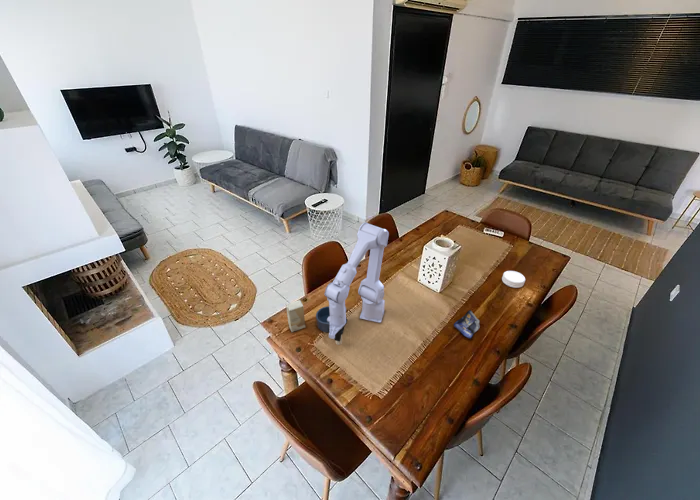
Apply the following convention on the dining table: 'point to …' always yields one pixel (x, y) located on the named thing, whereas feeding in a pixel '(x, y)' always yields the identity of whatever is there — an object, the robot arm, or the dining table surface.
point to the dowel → (339, 341)
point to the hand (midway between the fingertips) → (338, 337)
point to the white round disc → (513, 279)
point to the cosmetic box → (295, 315)
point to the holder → (323, 319)
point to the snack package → (467, 324)
